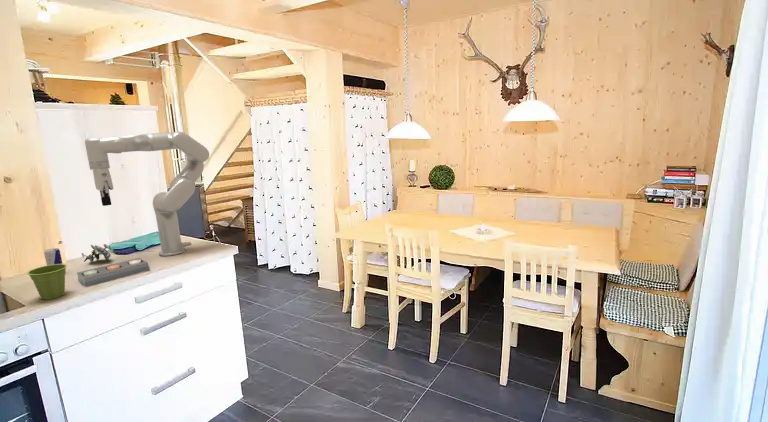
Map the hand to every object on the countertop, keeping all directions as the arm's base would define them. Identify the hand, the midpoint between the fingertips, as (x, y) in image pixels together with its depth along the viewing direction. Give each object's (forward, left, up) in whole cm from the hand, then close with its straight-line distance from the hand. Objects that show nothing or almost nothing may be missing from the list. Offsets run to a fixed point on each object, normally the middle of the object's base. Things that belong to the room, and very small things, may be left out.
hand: (107, 205), depth 184 cm
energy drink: (+22, -7, -29) cm, 37 cm away
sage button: (+14, +16, -27) cm, 34 cm away
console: (+6, +16, -29) cm, 34 cm away
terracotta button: (+5, +16, -27) cm, 32 cm away
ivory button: (-3, +16, -27) cm, 32 cm away
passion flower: (+5, -12, -29) cm, 32 cm away
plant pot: (+28, +23, -29) cm, 47 cm away
